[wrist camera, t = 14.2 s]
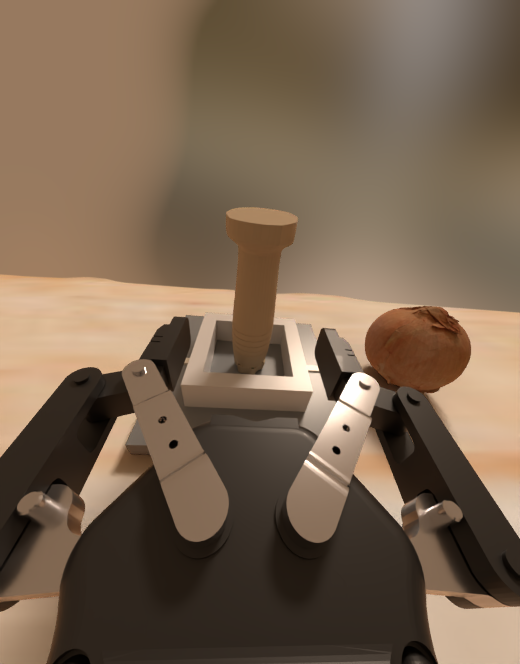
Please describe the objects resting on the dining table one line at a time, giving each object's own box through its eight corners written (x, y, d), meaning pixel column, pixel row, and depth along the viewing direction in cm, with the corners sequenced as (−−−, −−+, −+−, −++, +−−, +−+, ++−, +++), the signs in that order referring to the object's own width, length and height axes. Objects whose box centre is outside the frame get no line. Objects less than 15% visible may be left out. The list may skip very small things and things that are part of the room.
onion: (451, 394, 26) (520, 326, 20) (400, 422, 22) (466, 349, 16) (385, 344, 32) (422, 282, 26) (337, 360, 29) (367, 291, 23)
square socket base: (308, 332, 33) (316, 306, 30) (348, 460, 19) (369, 433, 16) (187, 323, 32) (183, 296, 29) (130, 454, 17) (113, 423, 15)
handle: (218, 383, 22) (213, 217, 13) (235, 343, 27) (241, 205, 18) (265, 393, 21) (295, 229, 12) (274, 351, 27) (299, 213, 18)
